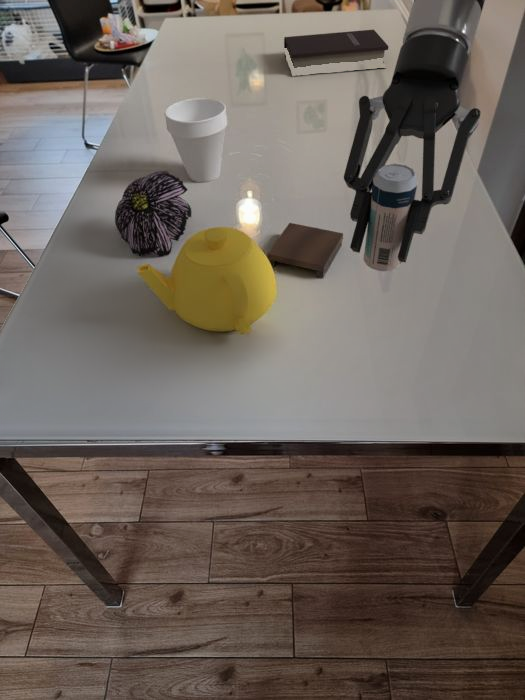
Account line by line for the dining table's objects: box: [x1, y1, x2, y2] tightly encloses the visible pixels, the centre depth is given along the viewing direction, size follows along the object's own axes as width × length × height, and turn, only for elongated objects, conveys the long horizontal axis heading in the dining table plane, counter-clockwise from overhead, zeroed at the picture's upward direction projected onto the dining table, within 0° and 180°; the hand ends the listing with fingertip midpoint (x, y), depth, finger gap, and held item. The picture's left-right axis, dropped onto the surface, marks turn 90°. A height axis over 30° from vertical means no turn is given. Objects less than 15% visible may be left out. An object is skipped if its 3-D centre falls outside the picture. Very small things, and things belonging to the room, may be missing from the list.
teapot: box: [136, 226, 278, 335], centre depth 73 cm, size 20×19×13 cm
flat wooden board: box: [266, 222, 344, 279], centre depth 85 cm, size 10×10×2 cm
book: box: [283, 29, 389, 68], centre depth 152 cm, size 28×20×6 cm
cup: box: [164, 97, 228, 183], centre depth 103 cm, size 12×12×14 cm
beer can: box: [363, 163, 419, 272], centre depth 58 cm, size 5×5×12 cm
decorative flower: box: [114, 170, 192, 258], centre depth 89 cm, size 15×12×15 cm
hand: (378, 254), depth 58 cm, fingers closed on beer can, 5 cm apart
